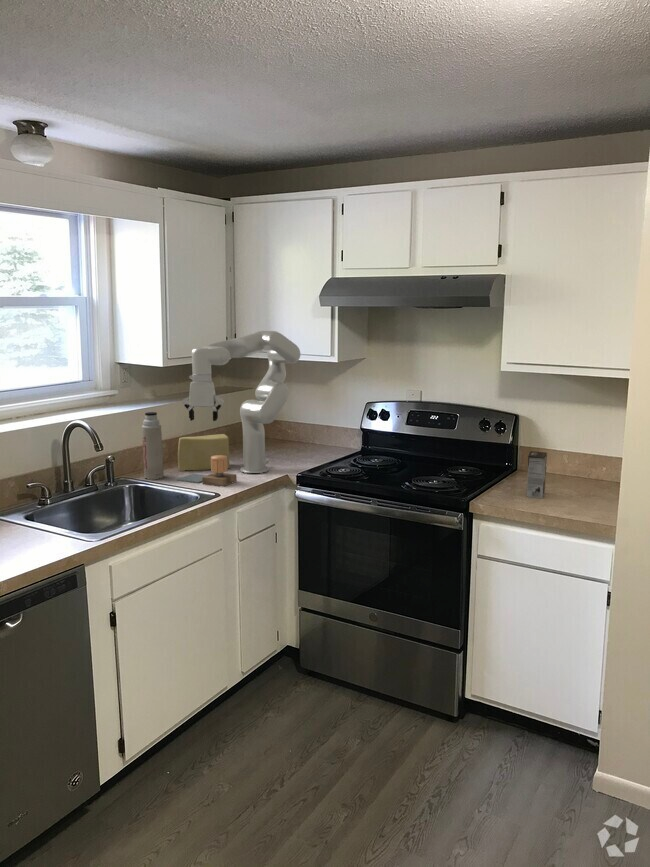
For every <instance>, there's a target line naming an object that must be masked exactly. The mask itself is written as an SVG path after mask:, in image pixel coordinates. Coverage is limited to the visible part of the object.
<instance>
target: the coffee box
mask: <svg viewBox="0 0 650 867" xmlns="http://www.w3.org/2000/svg"><path fill="white" fill-rule="evenodd" d="M527 457H528V458H527V476H526V477H527V478H526V482H527V483H526V497H527V498H533V499H543V498H544V496H545V493H546V482H547V480H546V479H547V457H548V452H546V451H545V452H542V451H535V450H534V451H530V452H529V454H528V455H527Z"/></svg>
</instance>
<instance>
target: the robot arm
mask: <svg viewBox="0 0 650 867" xmlns="http://www.w3.org/2000/svg"><path fill="white" fill-rule="evenodd" d="M265 351H267V352H266V354H267V359H268V369H267V372H266V374H264V376H263V378H262V379H261V380H260V382H259V383H258V385H257V387H256V388H255V391H254V394H255V398H256V399H247V400H245V401H243V402H242V403H241V405H240V408H239V416H240V419H241V420H240V421H241V425H242V426H241V428H242V447H243V448H242V454H243V455H242V458H243V466H241V467H240V469H239V470H240V471H239V472H240V473H242V472H244V473H243V474H247V473H260V474H264V473H263V472H265V473H267V471H268V470H269V471H270V467H269V466H267V465H266V464H269V463H270V459H269V458H266V441H265V440H266V439H265V438H266V437H265V436H266V433H265V432H266V431H265V427H264V425H265V424H271V423H273V422H274V421H275V420H276V418H277V417H278V415H279V414H280V413H281V411H282V409H283V408H284V406H285V404H286V403H287V401H288V399H289V394H290V391H289V390H290V389H289V388H288V386H287V384H286V383H284V382H285V379H286V377H287V370H286V364H287V365H288V364H289V365H290V364H295V363H297V362H299V360H300V359H301V349H300V348H299V347H298V345H297V344H296V343H294V342H293V341H292V340H290V339H289V338H287V337H286V336H285V335H284V334H283V333H280V332H278V331H276V330H274V331H273V330H260V331H257V332H253V333H249V334H247V335H243V336H240V337H236V338H235V337H234V338H231V339H226V340H222V341H217V342H213V343H209V344H207V345H204V346H203V347H195V348H193V349H192V350H191V367H192V369H191V370H192V374H191V375H189V376H188V379H191V380H192V381H191V382H190V384H189V396H187V397H185V398H183V399H182V400H181V402H182V404H183V405H184V406H183V407H185V408H186V409H187V411H188V419H189V421H191V422H192V421H194V420H195V411H194V408H211V409H212V410H213V411H212V421H213V422H216V421H217V420H218V418H219V412H218V411H219V410H220V409H221V408H222V406H223V404H224V402H225V400H224V399H222V398H220V397H218V396H216V390H215V384H214V382H213V380H212V366H213V365H214V366H224V365H226V364H228V363H229V361H230V360H231V359H235V358H239V359H241V358H246V357H249V356H252V355H256V354H258V353H261V352H265ZM188 401H189V402H188ZM217 402H218V405H216V404H217ZM269 471H268V472H269Z"/></svg>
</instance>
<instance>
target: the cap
mask: <svg viewBox="0 0 650 867" xmlns="http://www.w3.org/2000/svg"><path fill="white" fill-rule="evenodd" d="M228 470H229V469H228V468H227V456H225V455H215V456H212V457H211V470H210V471H211V472H212V473H228Z"/></svg>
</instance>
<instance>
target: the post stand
mask: <svg viewBox="0 0 650 867" xmlns="http://www.w3.org/2000/svg"><path fill="white" fill-rule="evenodd" d="M206 475H207V476H204V477H202V480H203V482H202V485H204V484H205V485H206V486H212V485H214V487H220V486H224V487H226V486H229V485H231V484H233V483H232V482H234V483H235V481H236V482H237V478H238V476H237V474H236V473H230V472H229V473H228V472H224V473H213V472H212V473H209V474H206ZM230 483H231V484H230ZM228 484H229V485H228ZM225 485H226V486H225Z"/></svg>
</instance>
